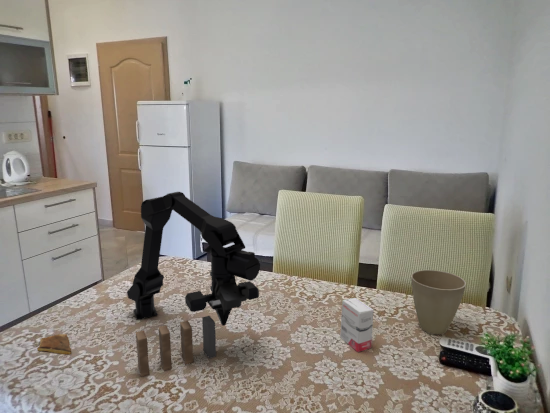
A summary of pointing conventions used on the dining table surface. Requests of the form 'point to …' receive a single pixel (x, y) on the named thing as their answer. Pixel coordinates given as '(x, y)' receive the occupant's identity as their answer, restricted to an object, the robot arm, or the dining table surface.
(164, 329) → the domino
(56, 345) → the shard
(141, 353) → the domino
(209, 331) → the dark gray rectangular block
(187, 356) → the domino
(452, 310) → the plant pot
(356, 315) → the ink box
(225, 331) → the dining table surface
